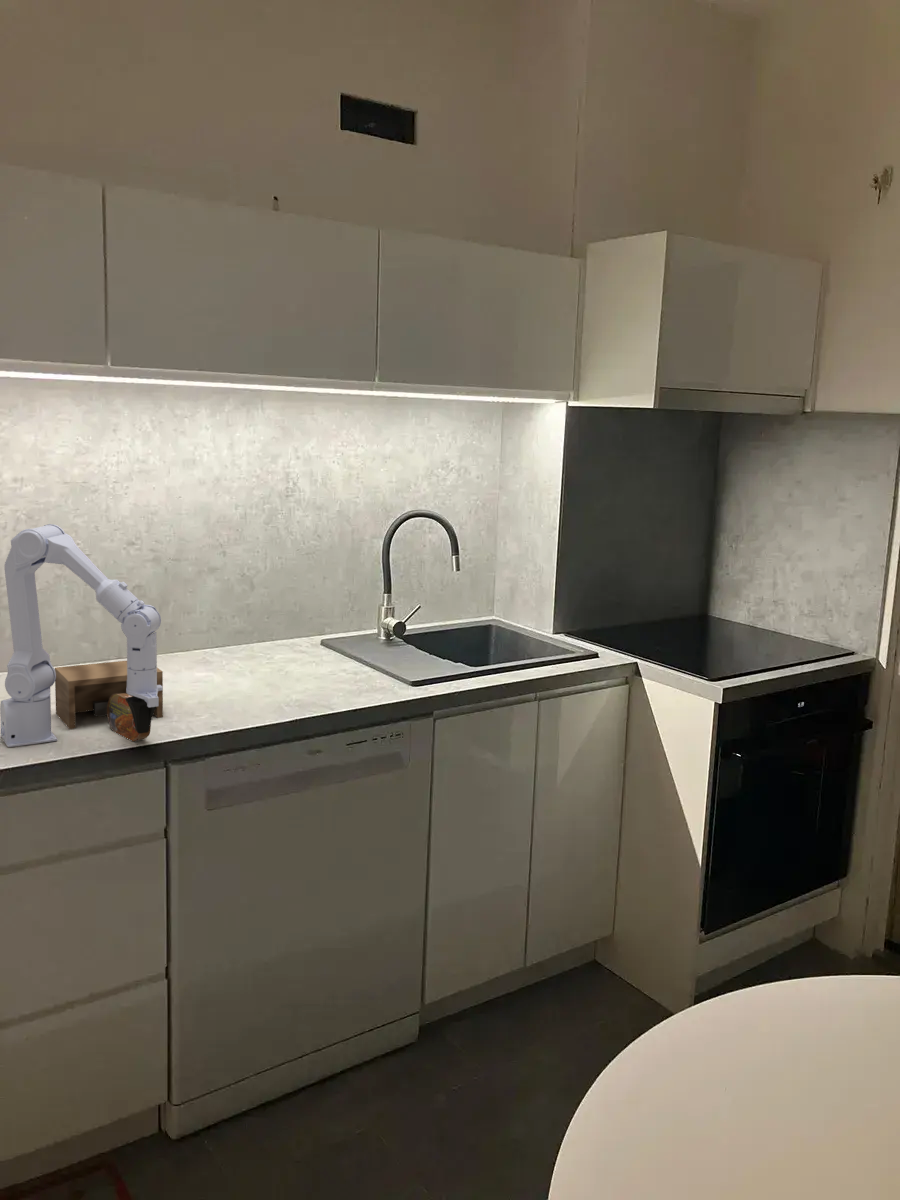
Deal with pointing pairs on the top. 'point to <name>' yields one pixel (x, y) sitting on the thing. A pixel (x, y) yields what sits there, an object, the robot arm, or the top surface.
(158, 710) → the shelf
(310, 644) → the top surface
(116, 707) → the tin
